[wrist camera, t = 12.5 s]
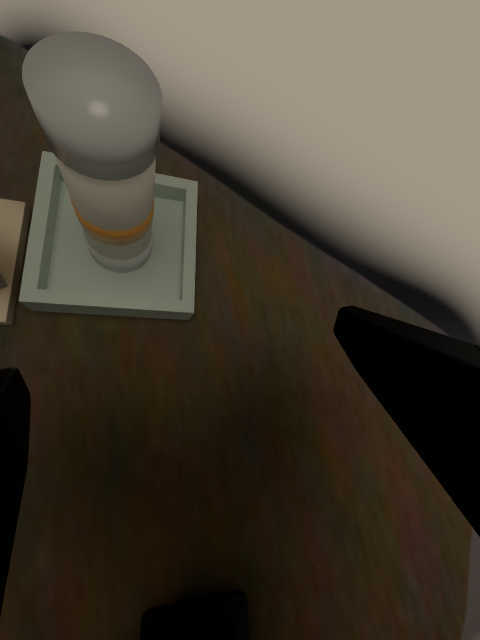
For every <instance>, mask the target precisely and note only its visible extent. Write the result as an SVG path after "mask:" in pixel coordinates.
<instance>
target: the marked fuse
mask: <svg viewBox="0 0 480 640" xmlns="http://www.w3.org/2000/svg"><path fill="white" fill-rule="evenodd" d="M22 79H23V83H24V87H25V89H26V92H27V94H28V97H29V99H30V102H31V105H32V107H33V110H34V112H35V115H36V117H37V120H38V122H39V125H40V127H41V130H42V132H43V135H44V137H45V140H46V142H47V144H48V146H49V148H50V149H51V151H52V152H53V153H54V155H55V158H56V161H57V163H58V166H59V169H60V171H61V174H62V176H63V179H64V182H65V184H66V187H67V189H68V192H69V195H70V199H71V203H72V205H73V208H74V211H75V213H76V216H77V218H78V221H79V223H80V225H81V227H82V229H83V236H84V239H85V241H86V244H87V246H88V249H89V251H90V254H91V256H92V257H93V259H94V260H95V261H96V262H97V263H98V264H99V265H100V266H102V267H103V268H105V269H107V270H109V271H113V272H117V273H127V272H132V271H135V270H137V269H139V268H141V267H142V266H143V265H144V264H145V263H146V262H147V261H148V260H149V258H150V255H151V252H152V242H153V229H152V223H153V214H154V182H155V164H156V156H157V154H158V150H159V140H160V126H161V111H162V94H161V89H160V85H159V83H158V81H157V78H156V77H155V75H154V73H153V72H152V70H151V69H150V68H149V66H148V65H147V64H146V63H145V62H144V61H143V60H142V59H141V58H140V57H139V56H138V55H137V54H135V53H134V52H133V51H131V50H130V49H129V48H127V47H125V46H123V45H122V44H120V43H118V42H116V41H114V40H112V39H109V38H106V37H104V36H100V35H97V34H92V33H86V32H63V33H58V34H54V35H51V36H48V37H46V38H44V39H42V40H40V41H39V42H38V43H36V44H35V45H34V46H33V47H32V48H31V49H30V50H29V52H28V53H27V55H26V57H25V59H24V62H23V68H22Z"/></svg>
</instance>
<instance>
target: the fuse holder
mask: <svg viewBox="0 0 480 640" xmlns="http://www.w3.org/2000/svg"><path fill="white" fill-rule="evenodd" d="M30 212H31V210H30V209H29V207H28V206H27V204H26V203H25V202H19V201H12V200H6V199H0V325H12V324H13V318H14V312H15V306H16V299H17V293H18V287H19V281H20V274H21V268H22V262H23V256H24V250H25V243H26V237H27V231H28V225H29V218H30Z"/></svg>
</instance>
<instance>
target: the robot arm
mask: <svg viewBox="0 0 480 640" xmlns="http://www.w3.org/2000/svg"><path fill="white" fill-rule="evenodd" d="M334 334H335V336H336V338H337V339H338V341H339V343H340V344H341V346H342V348H343V349H344V351H345V353H346V354H347V356H348V358H349V359H350V361H351V363H352V364H353V366H354V367H355V369H356V371H357V372H358V373H359V375H360V376H361V378H362V379H363V380H364V382H365V383H366V384H367V386H368V387H369V388H370V390H371V391H372V392H373V394H374V395H375V396H376V398H377V399H378V400H379V402H380V403H381V404H382V406H383V407H384V409H385V410H386V411H387V413H388V414H389V415H390V417H391V418H392V419H393V421H394V422H395V423H396V425H397V426H398V427H399V429H400V430H401V431H402V433H403V434H404V435H405V437H406V438H407V439H408V441H409V442H410V443H411V445H412V446H413V447H414V449H415V450H416V451H417V453H418V454H419V456H420V457H421V458H422V460H423V461H424V462H425V464H426V465H427V466H428V468H429V469H430V470H431V472H432V473H433V474H434V476H435V477H436V478H437V480H438V481H439V482H440V484H441V485H442V486H443V488H444V489H445V490H446V492H447V493H448V494H449V496H450V497H451V499H452V500H453V502H454V503H455V504H456V506H457V507H458V508H459V510H460V511H461V512H462V514H463V515H464V516H465V518H466V519H467V520H468V522H469V523H470V524H471V526H472V527H473V528H474V530H475V531H476V532H477V534H478V535H479V537H480V346H478V345H473V344H471V343H468V342H465V341H462V340H459V339H455V338H453V337H450V336H446V335H443V334H440V333H437V332H434V331H431V330H428V329H425V328H421V327H418V326H415V325H412V324H409V323H406V322H403V321H399V320H396V319H393V318H390V317H387V316H384V315H381V314H378V313H374V312H371V311H368V310H365V309H362V308H359V307H356V306H346V307H342V308H340V310H339V311H338V315H337V318H336V322H335V325H334ZM30 409H31V397H30V392H29V390H28V388H27V386H26V384H25V381H24V379H23V377H22V375H21V373H20V371H19V370H18V369H17V368H16V367H7V368H2V369H0V615H1V610H2V604H3V599H4V593H5V588H6V582H7V576H8V571H9V565H10V560H11V554H12V549H13V543H14V538H15V532H16V527H17V521H18V515H19V510H20V504H21V499H22V493H23V488H24V482H25V477H26V471H27V464H28V453H29V431H30ZM240 599H243V600H242V602H241V603H240V604H237V602H238V601H239V600H240ZM149 620H153V621H154V622H153V623H152V624H151V625H147V624H146V623H147V622H148V621H149ZM140 640H249V630H248V598H247V596H246V594H245V593H244V592H243V591H235V592H230V593H225V594H221V595H219V594H217V593H216V594H211V595H207V596H202V597H197V598H193V599H188V600H184V601H179V602H178V603H177V604H175V605H171V606H166V607H162V608H157V609H153V610H149V611H147V612H146V613H145V614H144V615H143V617H142V620H141V631H140Z"/></svg>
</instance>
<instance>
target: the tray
mask: <svg viewBox="0 0 480 640" xmlns="http://www.w3.org/2000/svg"><path fill="white" fill-rule="evenodd" d="M197 187H198V182H197V181H192V180H187V179H182V178H177V177H171V176H166V175H161V174H156V173H155V182H154V214H153V223H152V229H153V242H152V252H151V255H150V258H149V260H148V261H147V262H146V263H145V264H144V265H143V266H142V267H141V268H139V269H137V270H135V271H132V272H127V273H117V272H113V271H109V270H107V269H105V268H103V267H102V266H100V265H99V264H98V263H97V262H96V261H95V260H94V259H93V257H92V256H91V254H90V251H89V249H88V246H87V244H86V241H85V239H84V236H83V229H82V227H81V225H80V223H79V221H78V218H77V216H76V213H75V211H74V208H73V205H72V203H71V199H70V195H69V192H68V189H67V187H66V184H65V182H64V179H63V176H62V174H61V171H60V169H59V166H58V163H57V161H56V158H55V155H54V153H50V152H45V151H42V157H41V164H40V170H39V176H38V183H37V189H36V195H35V201H34V208H33V214H32V220H31V227H30V233H29V239H28V246H27V252H26V258H25V265H24V271H23V277H22V284H21V290H20V296H19V302H21V303H22V304H24V305H25V306H26V307H28V308H29V309H31V310H32V311H41V312H58V313H75V314H92V315H109V316H126V317H143V318H160V319H177V320H189V319H190V318H191V316H192V315H193V314H194V294H195V258H196V223H197Z"/></svg>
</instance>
